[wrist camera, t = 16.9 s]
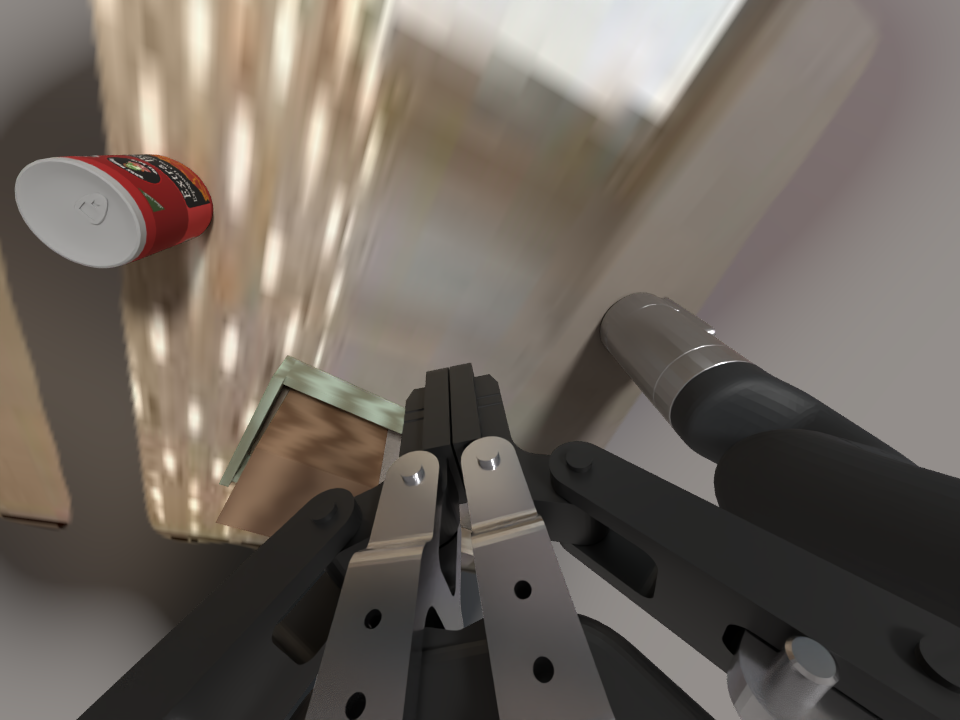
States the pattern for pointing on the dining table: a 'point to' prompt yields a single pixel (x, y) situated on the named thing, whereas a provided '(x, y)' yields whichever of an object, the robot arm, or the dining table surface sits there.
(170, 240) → the canned food
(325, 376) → the tray
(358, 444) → the walnut block
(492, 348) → the dining table surface
